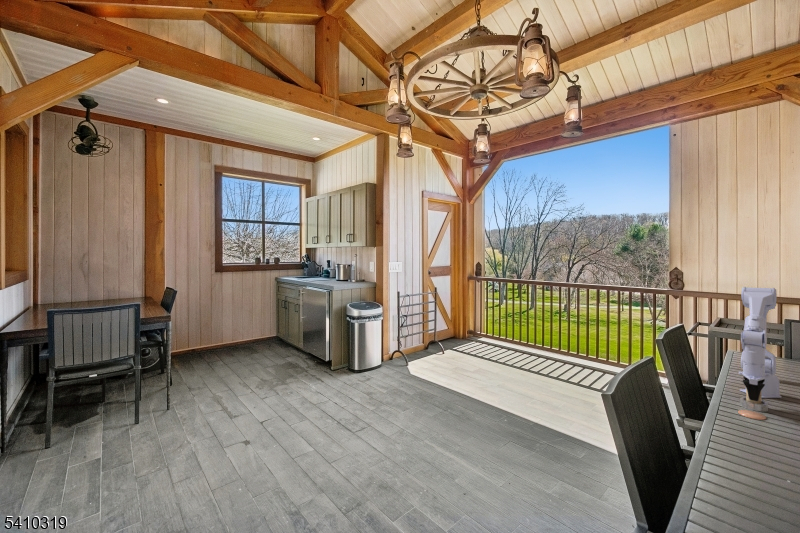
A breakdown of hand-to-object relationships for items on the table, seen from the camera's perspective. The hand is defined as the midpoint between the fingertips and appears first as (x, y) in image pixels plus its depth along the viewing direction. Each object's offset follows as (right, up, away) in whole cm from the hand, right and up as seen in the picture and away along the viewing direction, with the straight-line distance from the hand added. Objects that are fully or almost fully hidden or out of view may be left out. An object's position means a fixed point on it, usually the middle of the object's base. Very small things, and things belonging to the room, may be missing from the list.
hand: (753, 398), depth 127 cm
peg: (0, -3, 0) cm, 3 cm away
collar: (0, -3, 0) cm, 3 cm away
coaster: (-7, -4, -6) cm, 10 cm away
